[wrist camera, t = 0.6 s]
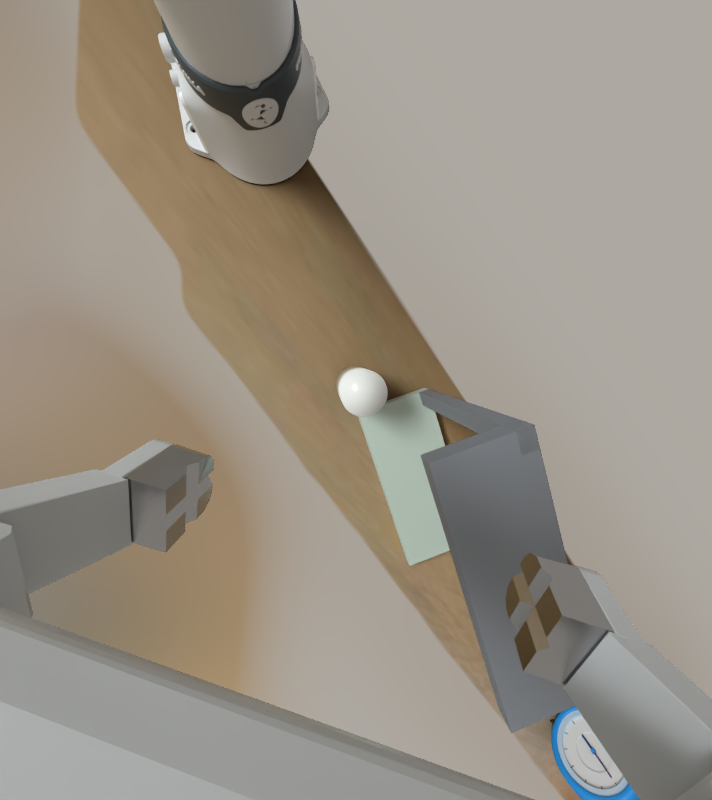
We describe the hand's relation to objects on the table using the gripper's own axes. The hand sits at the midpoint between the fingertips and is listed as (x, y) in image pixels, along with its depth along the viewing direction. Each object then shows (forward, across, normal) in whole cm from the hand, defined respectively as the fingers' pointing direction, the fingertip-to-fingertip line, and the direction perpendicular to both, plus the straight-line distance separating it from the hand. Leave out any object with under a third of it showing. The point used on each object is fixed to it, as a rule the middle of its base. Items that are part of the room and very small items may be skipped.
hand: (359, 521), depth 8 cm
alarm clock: (+37, -50, +63) cm, 89 cm away
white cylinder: (+39, +5, +11) cm, 41 cm away
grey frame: (+39, -8, +23) cm, 46 cm away
